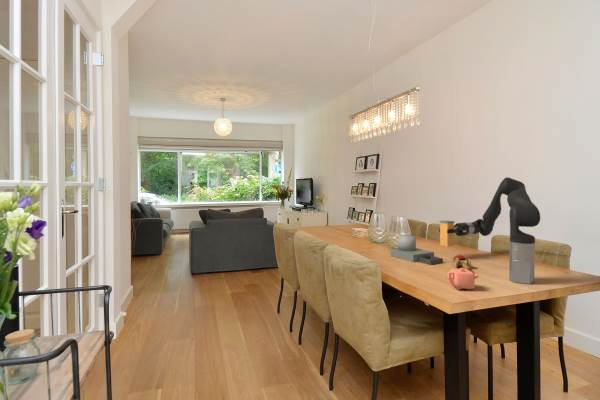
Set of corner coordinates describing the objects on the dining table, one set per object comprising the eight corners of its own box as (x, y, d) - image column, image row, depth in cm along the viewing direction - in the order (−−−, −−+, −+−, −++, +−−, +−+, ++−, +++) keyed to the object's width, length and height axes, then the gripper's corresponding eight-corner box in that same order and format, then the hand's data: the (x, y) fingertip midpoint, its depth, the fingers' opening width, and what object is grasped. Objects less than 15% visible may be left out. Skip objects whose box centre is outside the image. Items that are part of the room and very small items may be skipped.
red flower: (478, 276, 160) (466, 262, 177) (477, 264, 159) (465, 251, 176) (461, 278, 161) (451, 264, 179) (459, 266, 160) (449, 253, 178)
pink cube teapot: (482, 291, 134) (482, 271, 134) (451, 290, 135) (451, 270, 135) (474, 285, 142) (474, 266, 141) (445, 285, 143) (445, 265, 143)
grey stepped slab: (410, 253, 208) (410, 234, 207) (447, 262, 183) (447, 240, 183) (390, 256, 201) (390, 236, 200) (425, 265, 176) (426, 243, 176)
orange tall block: (446, 244, 193) (446, 220, 192) (454, 246, 188) (454, 221, 187) (439, 245, 190) (439, 220, 190) (447, 246, 185) (447, 221, 185)
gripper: (453, 221, 201) (433, 223, 194) (475, 223, 189) (454, 225, 181) (453, 234, 202) (433, 236, 194) (475, 237, 189) (454, 239, 181)
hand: (443, 231), depth 188 cm, fingers closed on orange tall block, 5 cm apart
